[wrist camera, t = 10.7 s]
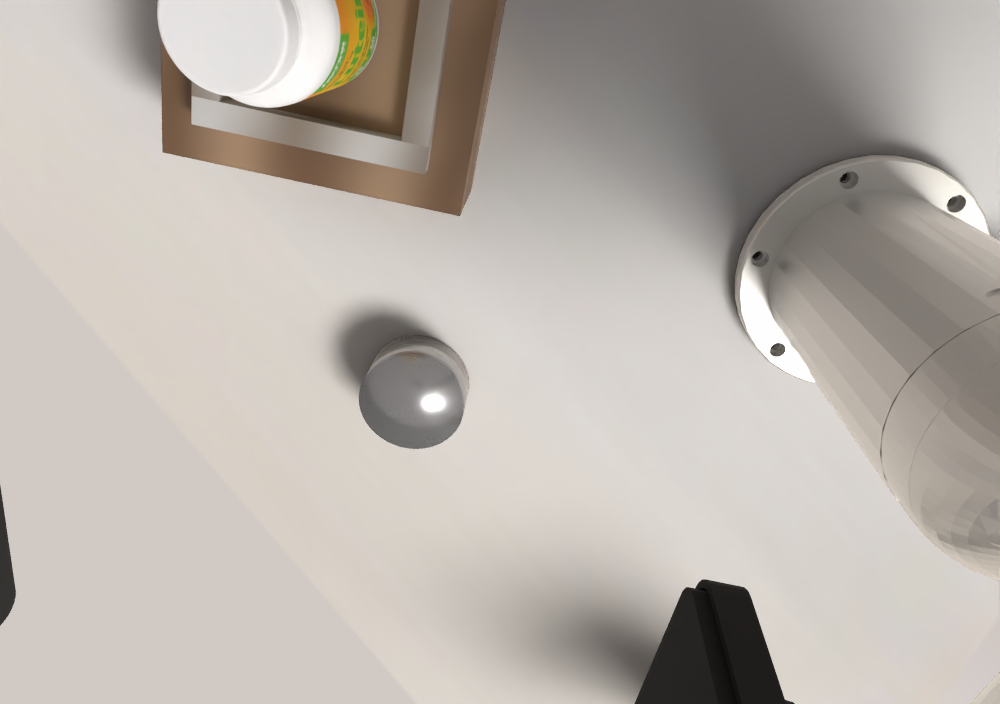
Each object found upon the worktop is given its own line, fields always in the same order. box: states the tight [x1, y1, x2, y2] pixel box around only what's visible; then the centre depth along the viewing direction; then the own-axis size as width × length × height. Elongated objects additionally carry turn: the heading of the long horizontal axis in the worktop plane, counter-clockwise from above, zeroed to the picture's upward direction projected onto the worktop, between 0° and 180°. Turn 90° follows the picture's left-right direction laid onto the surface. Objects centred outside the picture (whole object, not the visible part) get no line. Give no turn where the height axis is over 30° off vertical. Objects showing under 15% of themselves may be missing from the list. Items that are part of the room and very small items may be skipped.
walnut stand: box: [161, 0, 506, 216], centre depth 32 cm, size 14×14×6 cm
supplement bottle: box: [157, 0, 379, 108], centre depth 26 cm, size 5×5×10 cm
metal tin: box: [359, 335, 469, 449], centre depth 42 cm, size 6×6×3 cm
